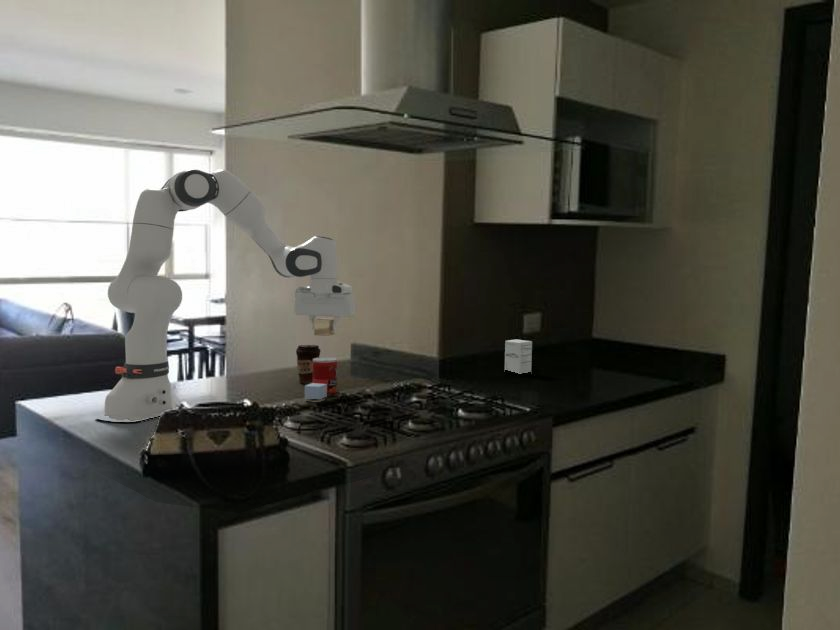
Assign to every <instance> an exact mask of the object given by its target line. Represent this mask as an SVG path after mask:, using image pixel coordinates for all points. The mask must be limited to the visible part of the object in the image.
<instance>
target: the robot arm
mask: <svg viewBox="0 0 840 630" xmlns="http://www.w3.org/2000/svg"><path fill="white" fill-rule="evenodd" d="M205 204H211V205H212V206H214V207H215V208H217V209H218V210H219V211H220V212H221V214H222V215H224V217H225V218H227V219H228V220H229V221H231V223H232V224H234V225H235V226H237V227H238V228H239V229H241V231H243V232H244V233H245V234H247V235H248V236H249V237H250V238H251V239H252V240H253V241H254V242H255V243H256V244H257V245H258V246H259V247H260V248H261V249H262V250H263V252H264V253H266V254H267V256H268V258H269V260H270V261H271V264H272V267H273V269H274V271H275V272H276V273H277V274H278V275H279V276H280V277H284V278H305V277H308V276H309V280H310V281H309V283H310V284H309V286H298V287H297V288H296V289H295V291H294V298H295V299H294V308H293V309H294V310H293V312H294V314H295V315H296V316H308V320H309V322H310V323H311V325H312V330H313V331H314V320H316V317H333V318H332V319H334V320H335V321H334V323H333V325H330V326H331V330H335V331H337V330H338V324H339V322H340V320H341V317H344V318H345V317H347V318H349V317H353V316H354V315H355V313H356V303H355V296H354V295H353V294H352V292H353V287H352V286H351V285H349V284H347V283H344V282H341V281H339V276H338V273H337V272H338V271H337V269H338V265H339V263H338V261H339V259H338V258H339V257H338V247H337V243H336V241H335V240H334V239H333V238H330V237H326V236H320V235H314V236H312V237H311V238H310V239H308V240H307V241H305V242H303V243H301V244H299V245H296V246H291V245H288V244H286V243H284V242H283V241H282V239H280V238H279V237H278V235H277V234H276V233H275V232H274V231H273V230H272V229H271V227H269V225H268V224H267V221H266V219H265V215H266V211H265V206H264V204H263V203H262V201H261V200H260V198H259V197H258V196H257V195H256V194H255V192H253V190H252V189H251V188H250V187H248V186H247V185H246V184H245V183H244V182H243V181H242V179H239V178H238V177H237V176H236V175H234V173H233V174H232V172H230V171H229V170H227V169H216V170H214V171H213V172H211V173H208V172H205V171H203V170H200V169H198V168H197V169H196V168H195V169H194V168H190V169H189V168H188V169H185V170H183V171H181V172H178V173H175V174H174V175H173V176H172V177H171V178H169V179H168V180H167V181H166V182H165V183H164V184H163V186H162V187H161V188H157V187H150V188H146V189H144V190H142V191H141V192H140V195H139V197H138V200H137V202H136V207H135V210H134V213H133V220H132V225H131V234H130V241H129V247H128V252H127V254H126V258H125V261H124V262H123V265H122V267H121V269H120V271H119V273H118V275H117V276H116V277H115V278H114V279H113V280H112V281H110V284H109V285H108V288H107V297H108V300H109V302H110V304H111V305H112V306H113V307H114V308H117V309H118V310H120V311H123V312H126V313H131V314H134V319H133V323H132V325H131V327H130V330H129V331H127V333H126V334H125V336H124V337H125V338H124V346H125V362H124V365H123V366H116V367H115V369H114V372H115V374H118V375H121V378H120V380H119V381H118V382H117V383H116V385H115V386H114V387H113V388H112V389H111V390H110V391H109V392H108V394H107V395H106V397H105V401H104V411H103V412H104V416H109V418H111V419H116V420H124V419H128V420H130V421H135V420H142V419H146V418H151V417H156V416H159V415H160V414H161V413H162V412H164V411H166V410H168V409H173V408H175V405H174V397H173V396H174V395H173V388H172V383H171V382H170V380H169V379H170V378H169V375H168V374H169V372H170V365H169V361H168V354H167V353H168V349H167V348H168V346H167V344H168V343H167V342H168V341H167V340H168V339H167V338H168V331H169V325H170V323H171V320H172V316H173V315H174V314H175V312H176V310H178V309H179V308H180V306H181V304H182V301H183V291H182V288H181V286H180V285H179V284H178V282H176V281H175V280H173V279H171V278H167V277H165V276H163V275H159V272H160V270H161V268H162V266H163V265H164V264H165V263H166V262H167V261H168V259H169V258H170V256H171V251H172V245H173V235H174V229H175V219H176V216H177V214H178V212H179V213H180V212H186V211H190V210H191V211H193V210H195V209H198V208H200V207H201V206H203V205H205Z"/></svg>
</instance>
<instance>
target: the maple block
mask: <svg viewBox="0 0 840 630" xmlns="http://www.w3.org/2000/svg"><path fill="white" fill-rule="evenodd" d="M334 321H335V320H334V319H333V318H317V319H316V318H315V319H314V330H313V331H314V332H313V333H314V335H313V336H316V337H317V336H319V337H322V336H323V337H329V336H333V335H336V330H331V326H330V325H333V323H334Z"/></svg>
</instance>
